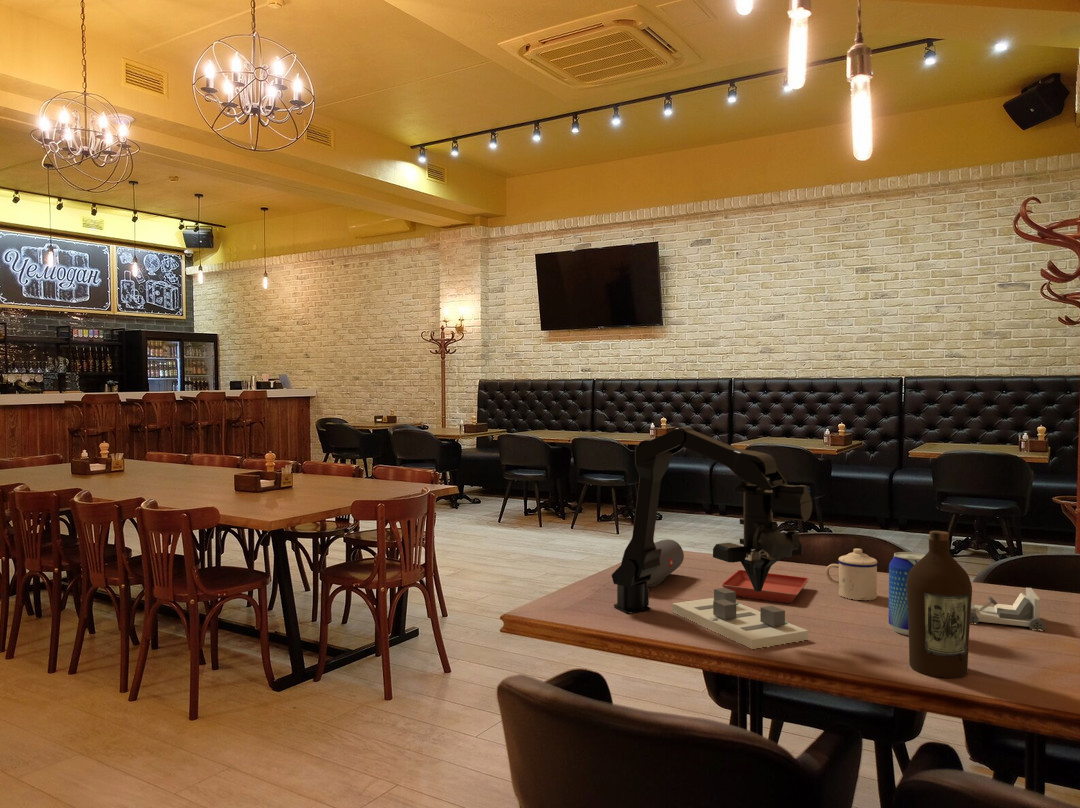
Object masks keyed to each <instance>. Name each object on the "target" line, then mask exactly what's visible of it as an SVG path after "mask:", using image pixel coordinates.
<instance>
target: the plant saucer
mask: <svg viewBox="0 0 1080 808" xmlns="http://www.w3.org/2000/svg"><path fill="white" fill-rule="evenodd" d="M809 580H810V578H809V577H804V576H797V575H795V576H794V575H793V576H792V575H787V574H779V573H771V572H768V574H767V577H766V580H765V582H764V585H763V588H762V590H761V592H757V591H755V590H754V588H753V585H752V583H751V581H750V579H749V577H748V574H747V572H746V570H745V569H737V570H736V571H735V572H734V573H732V575H730V576H729V577H728V578H727V579H725V581H724V582H722V583H721V586H722V588H727V589H729V590H732V591H735V592H736V597H737V596H742V597H741V598H745V597H748V598H747V599H753V598H756V599H755V600H760V599H762V600H763V601H768V600H769V602H776V601H778V603H784V602H787V603H786V604H792V603H793V601H795V599H796V598H797V596H798V595H799V593H801V591H802V590H803V589H804V588H805V586H806V585H807V583H808V581H809ZM762 600H761V601H762Z"/></svg>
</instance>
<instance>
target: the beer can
mask: <svg viewBox="0 0 1080 808" xmlns="http://www.w3.org/2000/svg"><path fill="white" fill-rule="evenodd" d="M925 555H926V554H924V553H919V552H918V553H917V552H911V551H900V552H894V554H893V558H892V559H891V560H890V562H889V564H888V624H889V625H890V626H891V628H892V631H893V632H895V633H898V634H900V635H904V636H909V629H908V606H907V587H906V582H907V577H908V574H909V571H910V570H911V568H912V567H913V566H914V565H915V564H916V563H917V562H918V561H919V560H921V559H922V558H923V557H924V556H925Z"/></svg>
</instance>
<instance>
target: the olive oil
mask: <svg viewBox="0 0 1080 808" xmlns="http://www.w3.org/2000/svg"><path fill="white" fill-rule="evenodd" d="M949 537H950V533H949V532H948V531H944V530H943V531H941V530H930V531H929V538H928V552H927V553H926V554H924V555H925V556H924V557H923V558H922V559H921V560H919V561H918V562H917V563H916V564H915V565H914V566H913V567H912V568H911V570H910V571H909V574H908V577H907V582H906V587H907V606H908V629H909V635H908V657H909V659H908V660H909V667H910V668H911V669H913V670H914V671H915V672H918V673H919V674H924V675H926V674H927V676H929V677H935V676H936V678H941V677H944V678H943V679H957V677H959V678H962V676H963V677H965V676H967V674H968V669H969V667H968V665H969V642H970V627H971V624H970V614H971V602H972V600H973V585H972V581H971V579H970V576H969V574H968V572H967V571H966V570H965V568H963V566H962V565H960V563H958V561H957V560H956V559H955V558H954V557H953V556H952V554H951V553H950V544H951V543H950V542H951V541H950V540H949Z"/></svg>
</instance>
